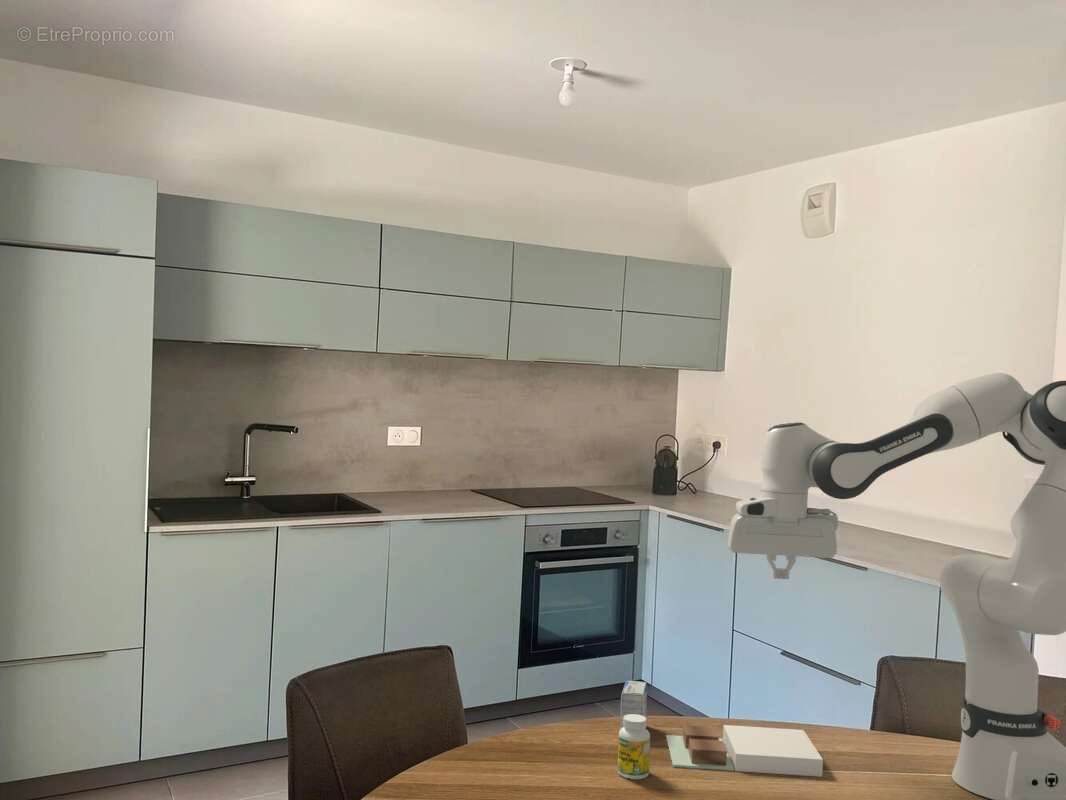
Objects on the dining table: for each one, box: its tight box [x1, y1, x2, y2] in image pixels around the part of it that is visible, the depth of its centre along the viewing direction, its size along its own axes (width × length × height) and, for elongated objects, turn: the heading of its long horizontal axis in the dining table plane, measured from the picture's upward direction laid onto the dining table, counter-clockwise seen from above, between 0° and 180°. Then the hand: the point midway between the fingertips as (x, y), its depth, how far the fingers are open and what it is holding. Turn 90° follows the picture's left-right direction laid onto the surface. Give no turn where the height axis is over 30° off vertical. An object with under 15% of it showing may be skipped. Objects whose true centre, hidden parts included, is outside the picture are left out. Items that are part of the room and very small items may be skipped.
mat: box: [665, 734, 735, 772], centre depth 163 cm, size 11×14×1 cm
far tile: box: [682, 724, 720, 749], centre depth 166 cm, size 6×5×2 cm
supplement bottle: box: [617, 714, 651, 780], centre depth 152 cm, size 5×5×10 cm
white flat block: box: [722, 724, 824, 778], centre depth 162 cm, size 15×14×3 cm
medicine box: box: [619, 680, 648, 731], centre depth 172 cm, size 8×4×9 cm, turn 168°
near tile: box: [689, 739, 727, 766], centre depth 159 cm, size 6×5×2 cm
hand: (780, 578), depth 171 cm, fingers closed
